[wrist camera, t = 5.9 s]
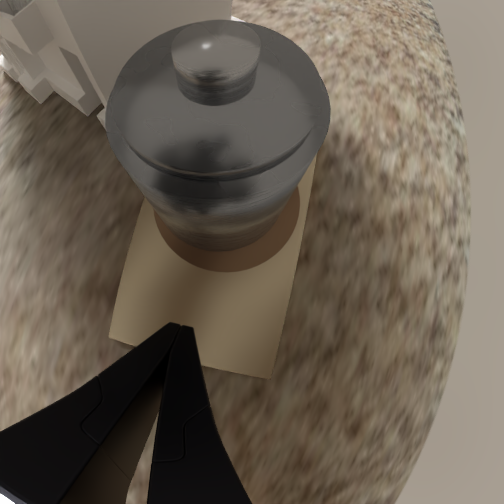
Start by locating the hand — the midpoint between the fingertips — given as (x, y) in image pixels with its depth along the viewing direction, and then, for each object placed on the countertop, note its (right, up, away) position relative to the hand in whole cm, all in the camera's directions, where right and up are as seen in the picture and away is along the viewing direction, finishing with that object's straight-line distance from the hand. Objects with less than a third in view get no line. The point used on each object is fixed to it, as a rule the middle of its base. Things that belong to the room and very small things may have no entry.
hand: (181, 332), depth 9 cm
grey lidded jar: (0, +6, +8) cm, 10 cm away
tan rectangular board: (0, +4, +8) cm, 9 cm away
